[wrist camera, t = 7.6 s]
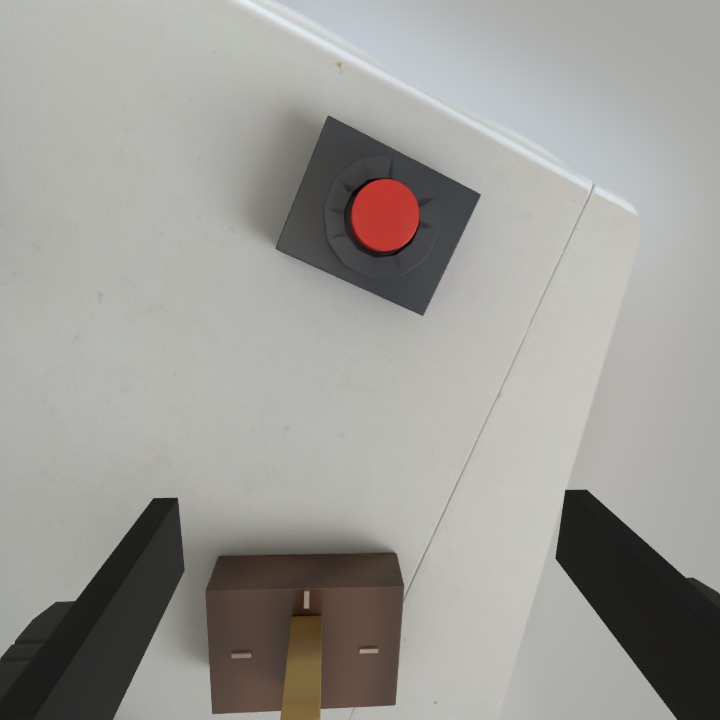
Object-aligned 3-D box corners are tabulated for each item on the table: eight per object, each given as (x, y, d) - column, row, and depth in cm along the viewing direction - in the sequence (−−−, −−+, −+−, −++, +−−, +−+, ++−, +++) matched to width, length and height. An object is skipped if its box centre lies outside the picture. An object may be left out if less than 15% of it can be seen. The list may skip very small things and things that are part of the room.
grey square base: (466, 201, 27) (493, 189, 23) (414, 311, 29) (430, 319, 24) (328, 129, 26) (328, 102, 21) (280, 250, 27) (271, 247, 23)
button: (423, 202, 23) (431, 197, 22) (396, 262, 24) (401, 262, 22) (365, 173, 23) (368, 166, 21) (339, 235, 23) (340, 233, 22)
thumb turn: (291, 615, 29) (279, 725, 22) (322, 615, 30) (320, 724, 23) (290, 688, 31) (279, 812, 24) (319, 686, 31) (317, 810, 24)
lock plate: (396, 552, 33) (404, 587, 29) (389, 663, 36) (396, 707, 32) (218, 555, 32) (204, 592, 28) (223, 670, 34) (211, 716, 31)
